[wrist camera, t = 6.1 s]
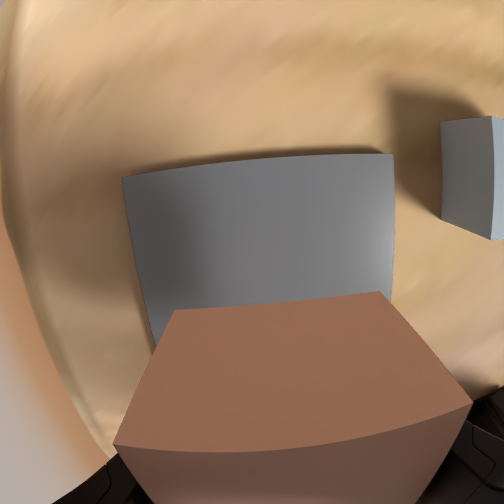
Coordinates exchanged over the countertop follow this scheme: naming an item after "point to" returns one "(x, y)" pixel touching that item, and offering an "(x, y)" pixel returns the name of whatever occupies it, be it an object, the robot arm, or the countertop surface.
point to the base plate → (261, 231)
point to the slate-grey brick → (473, 175)
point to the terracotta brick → (291, 406)
